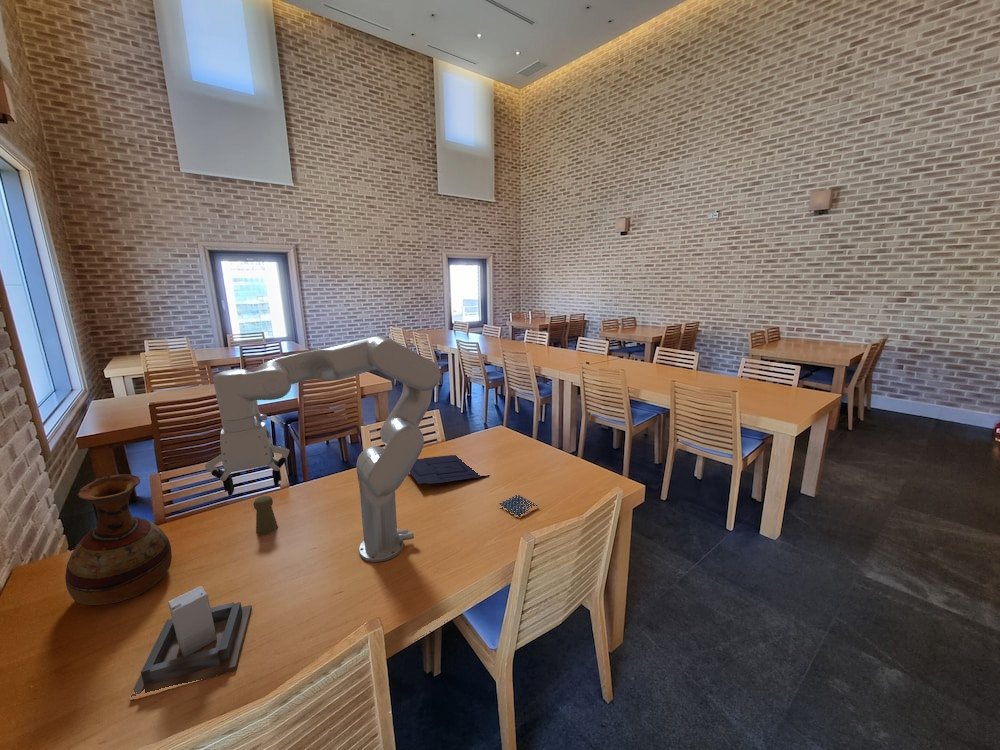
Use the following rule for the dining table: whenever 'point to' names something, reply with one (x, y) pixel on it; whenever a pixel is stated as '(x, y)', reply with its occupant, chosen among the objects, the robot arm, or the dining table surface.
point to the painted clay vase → (116, 547)
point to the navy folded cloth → (441, 470)
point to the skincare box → (192, 620)
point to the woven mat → (516, 505)
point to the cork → (264, 516)
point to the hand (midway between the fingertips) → (254, 488)
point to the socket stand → (204, 663)
